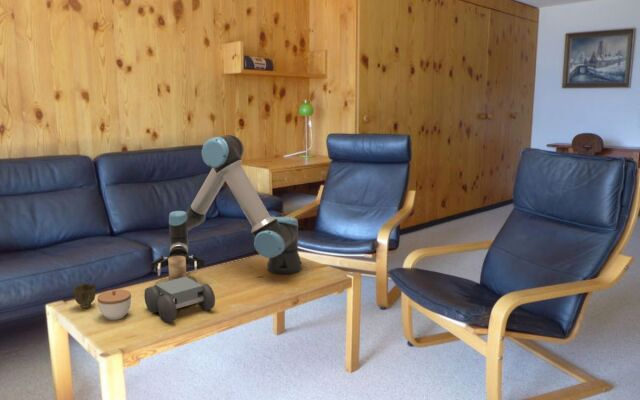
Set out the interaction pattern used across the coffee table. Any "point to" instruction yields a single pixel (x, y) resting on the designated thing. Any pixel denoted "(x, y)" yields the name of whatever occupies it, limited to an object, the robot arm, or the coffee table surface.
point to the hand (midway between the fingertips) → (177, 271)
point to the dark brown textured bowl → (84, 294)
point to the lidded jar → (114, 303)
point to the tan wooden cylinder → (177, 267)
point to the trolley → (178, 296)
